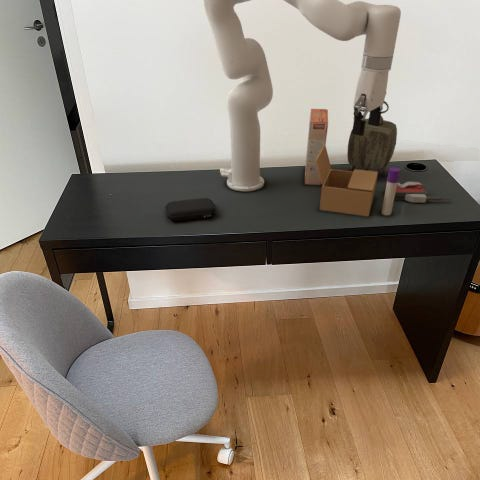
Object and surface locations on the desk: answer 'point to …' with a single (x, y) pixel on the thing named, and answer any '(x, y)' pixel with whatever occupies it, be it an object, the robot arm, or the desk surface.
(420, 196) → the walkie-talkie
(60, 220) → the desk surface
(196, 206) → the carrying case
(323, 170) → the flap
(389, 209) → the marker
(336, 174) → the carton
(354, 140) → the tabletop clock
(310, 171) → the cracker box
